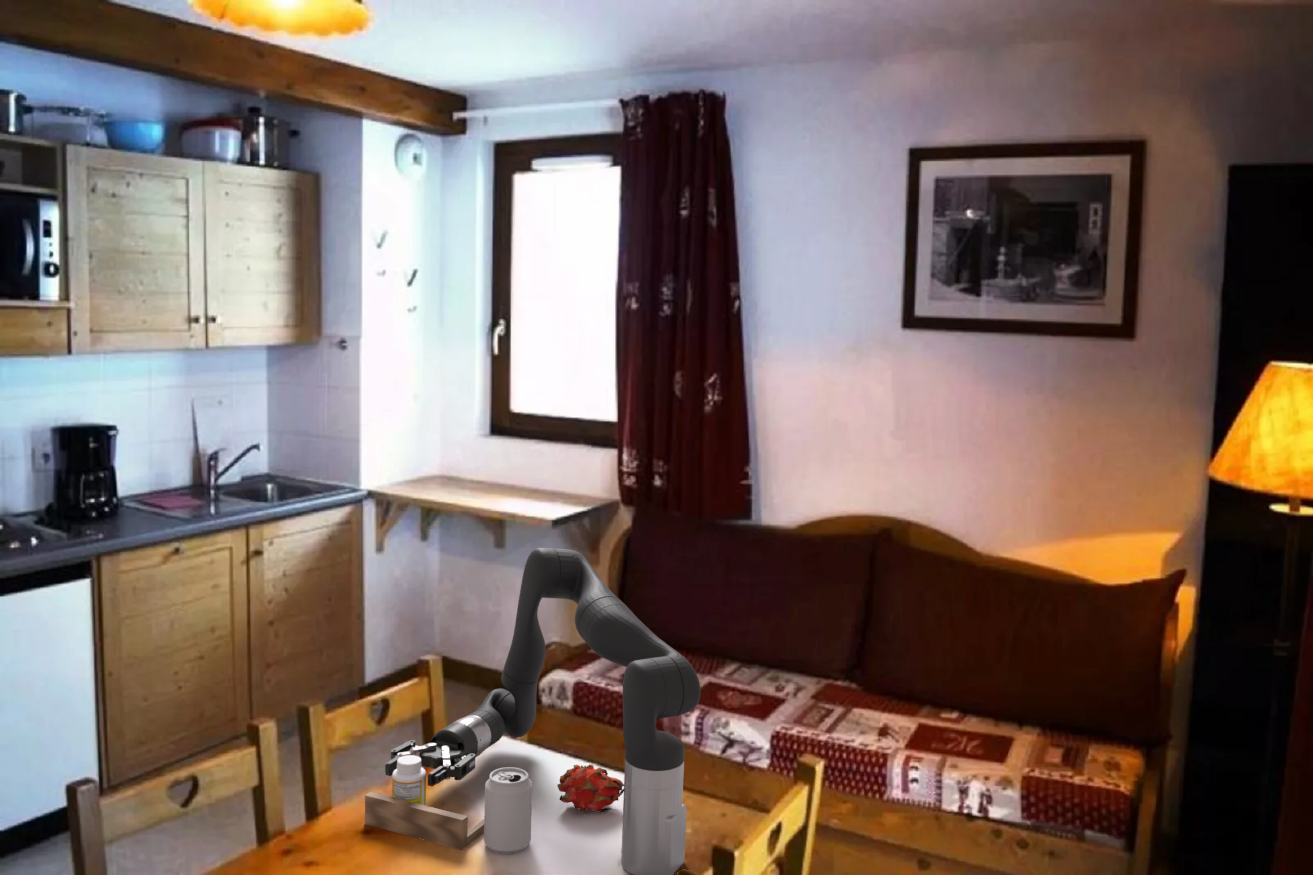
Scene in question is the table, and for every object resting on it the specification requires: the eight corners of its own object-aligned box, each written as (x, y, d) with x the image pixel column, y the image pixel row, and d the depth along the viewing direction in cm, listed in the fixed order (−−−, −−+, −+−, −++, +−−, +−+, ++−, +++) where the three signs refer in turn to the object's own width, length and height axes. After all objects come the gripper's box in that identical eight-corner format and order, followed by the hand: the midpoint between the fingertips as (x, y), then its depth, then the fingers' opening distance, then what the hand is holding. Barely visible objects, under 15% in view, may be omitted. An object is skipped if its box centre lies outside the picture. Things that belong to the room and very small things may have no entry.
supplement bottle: (406, 807, 189) (407, 750, 188) (432, 815, 187) (433, 757, 185) (384, 820, 184) (385, 761, 183) (410, 828, 182) (411, 769, 180)
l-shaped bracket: (488, 829, 182) (489, 800, 182) (462, 850, 175) (462, 820, 174) (394, 805, 190) (394, 777, 189) (364, 824, 182) (364, 795, 182)
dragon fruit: (551, 814, 192) (618, 825, 193) (554, 805, 185) (624, 816, 185) (559, 765, 196) (625, 776, 197) (562, 754, 189) (631, 765, 190)
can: (522, 859, 173) (524, 786, 172) (477, 853, 174) (478, 780, 173) (536, 837, 180) (538, 767, 179) (493, 831, 182) (494, 762, 180)
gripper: (428, 715, 201) (373, 746, 186) (496, 729, 196) (444, 762, 181) (428, 754, 202) (373, 788, 187) (495, 769, 197) (443, 805, 182)
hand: (408, 775), depth 184 cm, fingers open, 8 cm apart
